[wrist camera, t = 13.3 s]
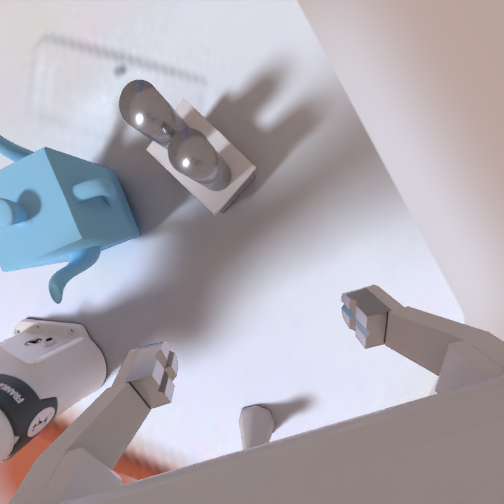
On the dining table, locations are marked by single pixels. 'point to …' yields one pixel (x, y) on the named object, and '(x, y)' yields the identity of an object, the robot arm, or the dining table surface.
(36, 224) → the teakettle
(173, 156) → the ball
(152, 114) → the cylinder
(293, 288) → the dining table surface
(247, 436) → the flask
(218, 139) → the scale
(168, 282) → the dining table surface
